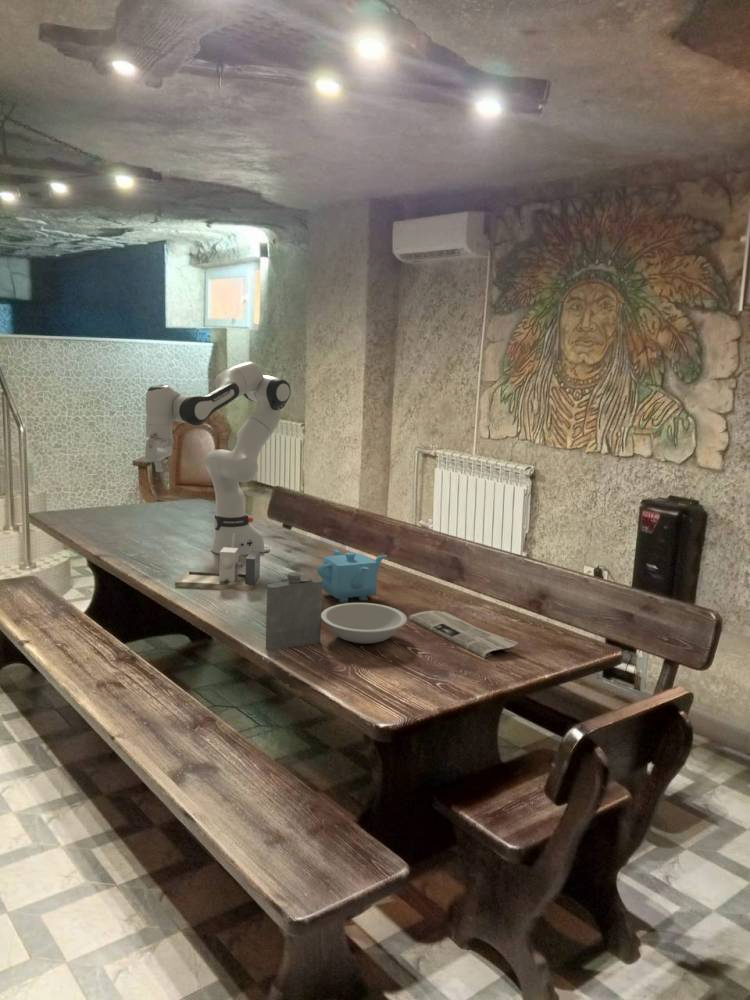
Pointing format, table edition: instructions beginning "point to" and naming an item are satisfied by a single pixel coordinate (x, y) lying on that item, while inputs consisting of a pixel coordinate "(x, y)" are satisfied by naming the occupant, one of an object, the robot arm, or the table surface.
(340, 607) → the soup bowl
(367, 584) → the teakettle
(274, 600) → the hip flask
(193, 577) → the board
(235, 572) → the block
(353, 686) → the table surface
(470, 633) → the newspaper
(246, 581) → the dark grey slab
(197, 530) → the table surface
